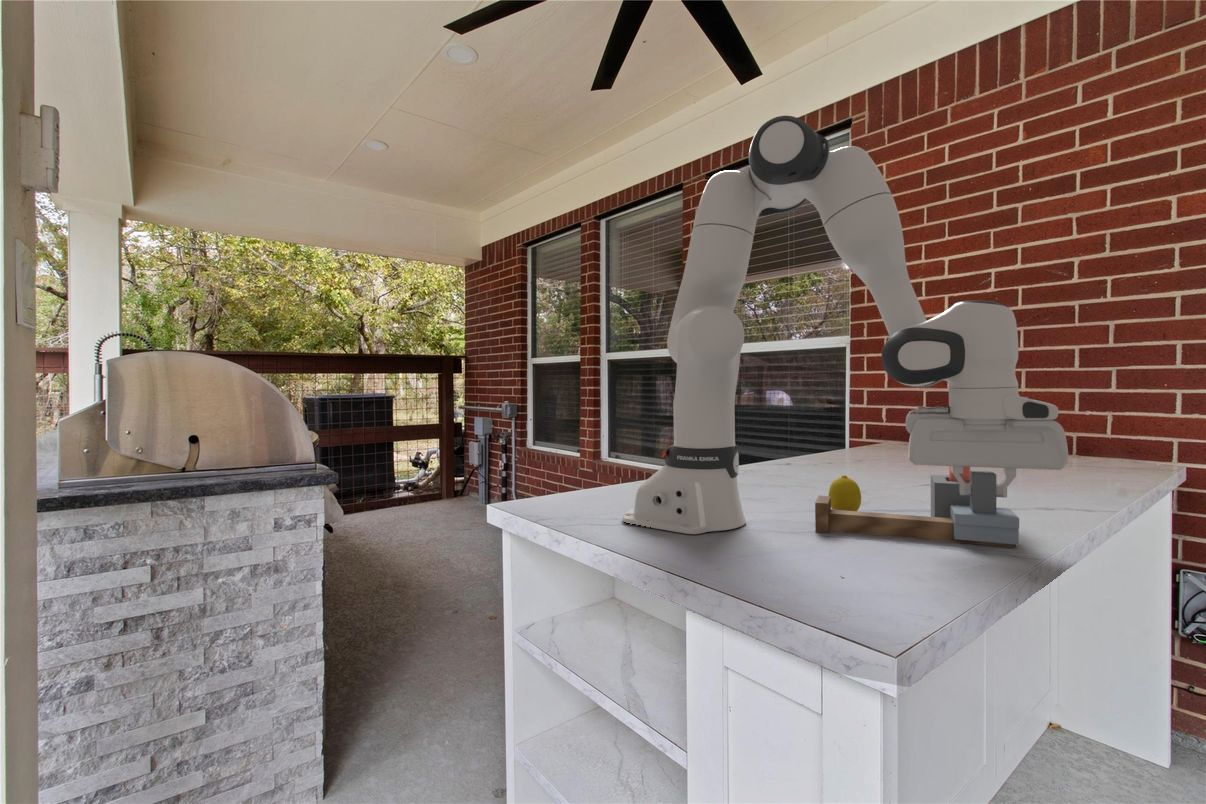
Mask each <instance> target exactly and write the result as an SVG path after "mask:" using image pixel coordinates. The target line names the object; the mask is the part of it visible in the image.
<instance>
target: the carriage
mask: <svg viewBox="0 0 1206 804" xmlns="http://www.w3.org/2000/svg"><path fill="white" fill-rule="evenodd" d="M970 483H971V484H972V490H971V491H972V496H970V506H960V505H950V518H952V519H953V521H954V539H959V540H970V541H982V542H993V543H1005V544H1016V546H1017V545H1018V546H1019V545H1020V544H1019V535H1020V533H1019V532H1020V531H1019V529H1020V518H1019V517H1018V515H1017V514H1016V513H1015V512H1014V511H1013V510H1012V509H1011V508H1005V507H1004V508H1002V507H997V497H996V484H997V474H996V473H995V472H994V471H988V470H987V471H986V470H985V471H983V470H970Z"/></svg>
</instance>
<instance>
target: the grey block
mask: <svg viewBox="0 0 1206 804" xmlns="http://www.w3.org/2000/svg"><path fill="white" fill-rule="evenodd" d="M965 483H970V482H965ZM950 505H960V506H970V496H968V495H960V483H959V482H952V481H949V475H946V474H930V517H941V518H950Z"/></svg>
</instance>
